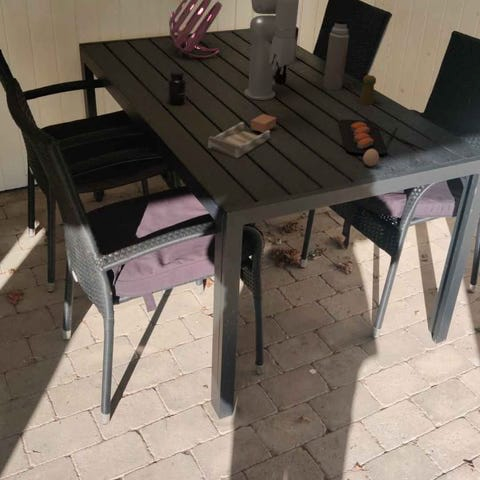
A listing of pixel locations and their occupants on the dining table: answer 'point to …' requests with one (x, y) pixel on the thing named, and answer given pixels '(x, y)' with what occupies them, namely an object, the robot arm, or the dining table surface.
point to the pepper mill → (367, 90)
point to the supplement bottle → (176, 88)
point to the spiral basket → (189, 26)
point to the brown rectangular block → (263, 123)
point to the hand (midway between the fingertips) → (280, 83)
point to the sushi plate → (364, 136)
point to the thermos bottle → (336, 55)
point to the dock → (236, 141)
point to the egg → (371, 157)
